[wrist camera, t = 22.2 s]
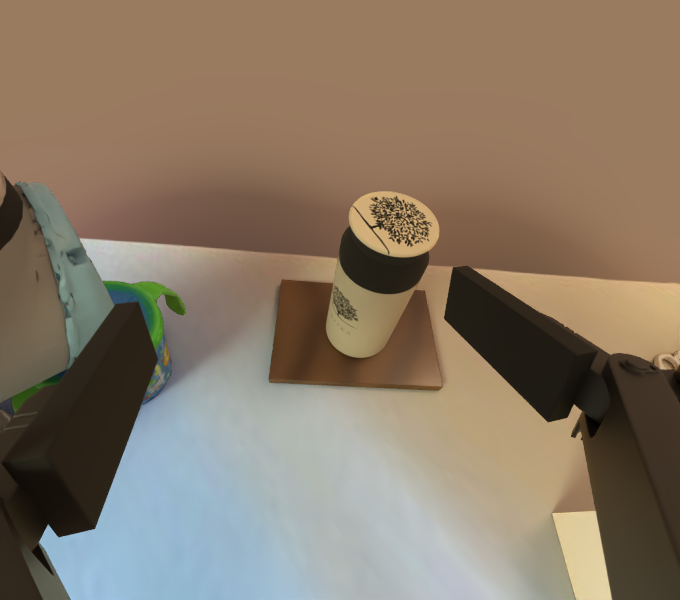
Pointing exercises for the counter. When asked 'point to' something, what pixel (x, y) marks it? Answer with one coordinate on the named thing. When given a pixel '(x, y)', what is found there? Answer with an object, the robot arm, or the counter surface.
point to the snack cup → (154, 321)
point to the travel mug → (378, 270)
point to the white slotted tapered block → (583, 554)
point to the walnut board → (342, 370)
